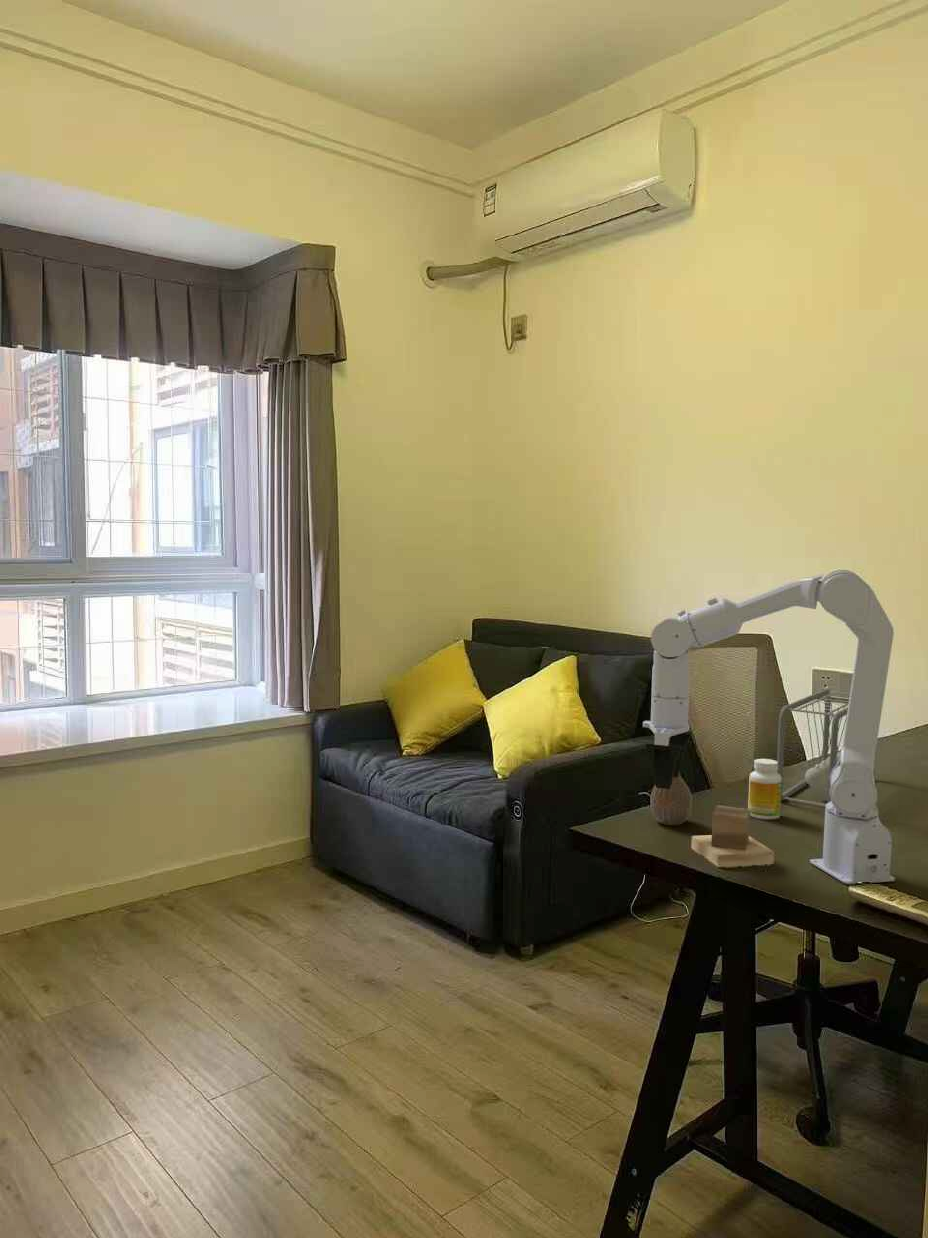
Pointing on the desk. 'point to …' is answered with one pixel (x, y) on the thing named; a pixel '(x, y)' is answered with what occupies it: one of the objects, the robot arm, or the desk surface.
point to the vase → (671, 803)
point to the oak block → (733, 853)
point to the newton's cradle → (822, 770)
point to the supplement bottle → (765, 790)
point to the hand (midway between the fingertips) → (667, 782)
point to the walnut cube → (730, 827)
